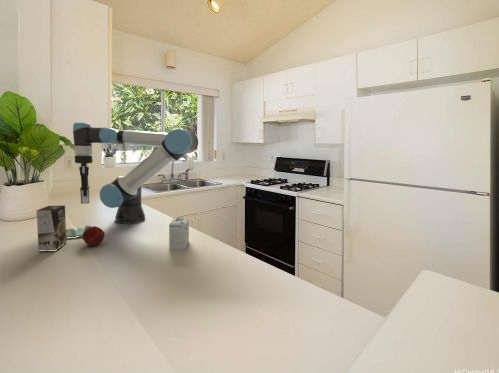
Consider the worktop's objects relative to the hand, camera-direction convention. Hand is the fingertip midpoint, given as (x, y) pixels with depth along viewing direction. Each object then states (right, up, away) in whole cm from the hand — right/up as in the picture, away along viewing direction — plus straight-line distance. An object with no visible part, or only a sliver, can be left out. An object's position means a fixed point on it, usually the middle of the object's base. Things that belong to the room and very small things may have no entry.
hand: (85, 201), depth 140 cm
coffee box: (+6, -17, -31) cm, 35 cm away
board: (+4, -14, -14) cm, 20 cm away
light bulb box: (+53, -17, -23) cm, 60 cm away
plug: (0, 0, 0) cm, 1 cm away
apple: (+19, -16, -27) cm, 37 cm away
